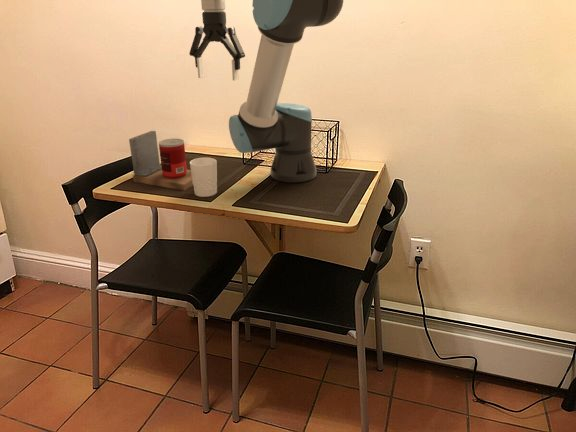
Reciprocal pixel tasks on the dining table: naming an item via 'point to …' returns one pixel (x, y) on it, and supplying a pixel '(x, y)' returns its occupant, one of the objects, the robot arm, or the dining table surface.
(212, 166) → the white cup
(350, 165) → the dining table surface
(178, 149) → the canned food
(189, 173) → the shelf board
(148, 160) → the bookend
